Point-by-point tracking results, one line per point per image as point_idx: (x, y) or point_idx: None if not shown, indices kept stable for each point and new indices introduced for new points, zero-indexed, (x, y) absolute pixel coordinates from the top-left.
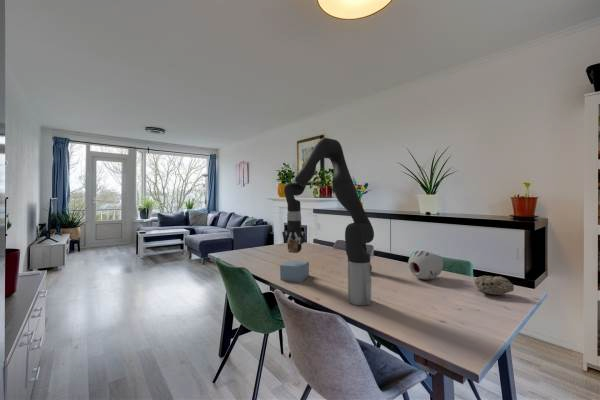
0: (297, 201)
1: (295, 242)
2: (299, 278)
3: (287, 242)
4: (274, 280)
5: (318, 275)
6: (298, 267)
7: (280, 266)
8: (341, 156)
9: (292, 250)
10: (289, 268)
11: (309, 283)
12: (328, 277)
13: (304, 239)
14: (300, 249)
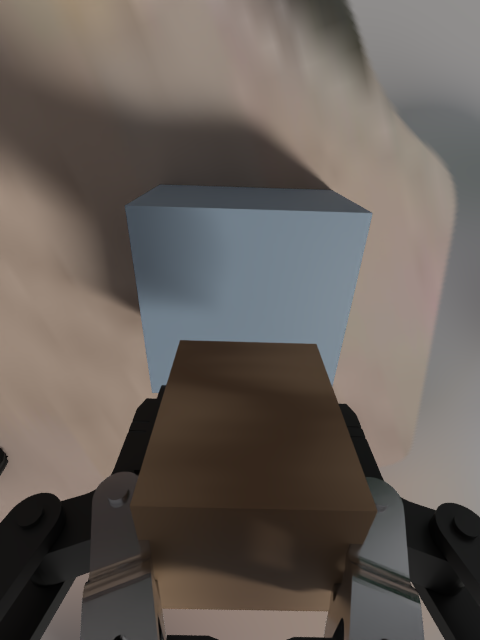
0: None
1: (178, 487)
2: (170, 188)
3: (395, 503)
4: (373, 156)
5: (116, 340)
6: (157, 205)
7: (363, 210)
8: None
9: (255, 362)
10: (259, 204)
11: (88, 166)
12: (42, 322)
13: (5, 622)
14: (140, 406)
